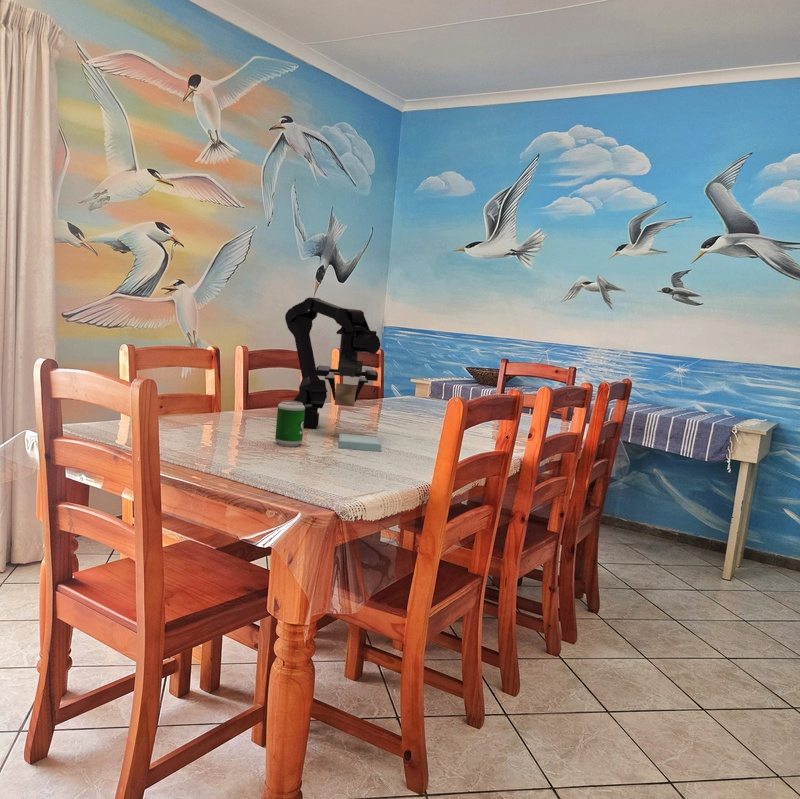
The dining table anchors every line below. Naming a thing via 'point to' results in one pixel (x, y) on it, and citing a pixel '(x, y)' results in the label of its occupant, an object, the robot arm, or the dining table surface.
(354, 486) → the dining table surface
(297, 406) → the soda can
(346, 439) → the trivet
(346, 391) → the walnut cube
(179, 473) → the dining table surface
